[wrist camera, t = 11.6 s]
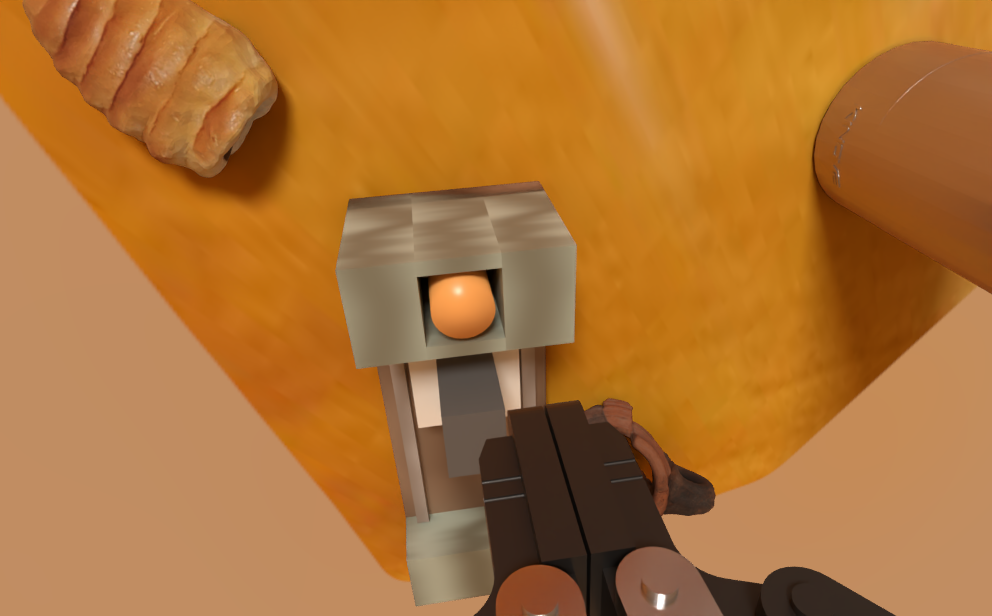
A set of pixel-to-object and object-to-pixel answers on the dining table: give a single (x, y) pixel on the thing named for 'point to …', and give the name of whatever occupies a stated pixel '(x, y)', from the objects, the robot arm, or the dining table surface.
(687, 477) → the pottery mug
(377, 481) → the dining table surface
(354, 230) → the rail base
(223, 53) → the pastry
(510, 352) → the carriage
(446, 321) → the plunger
